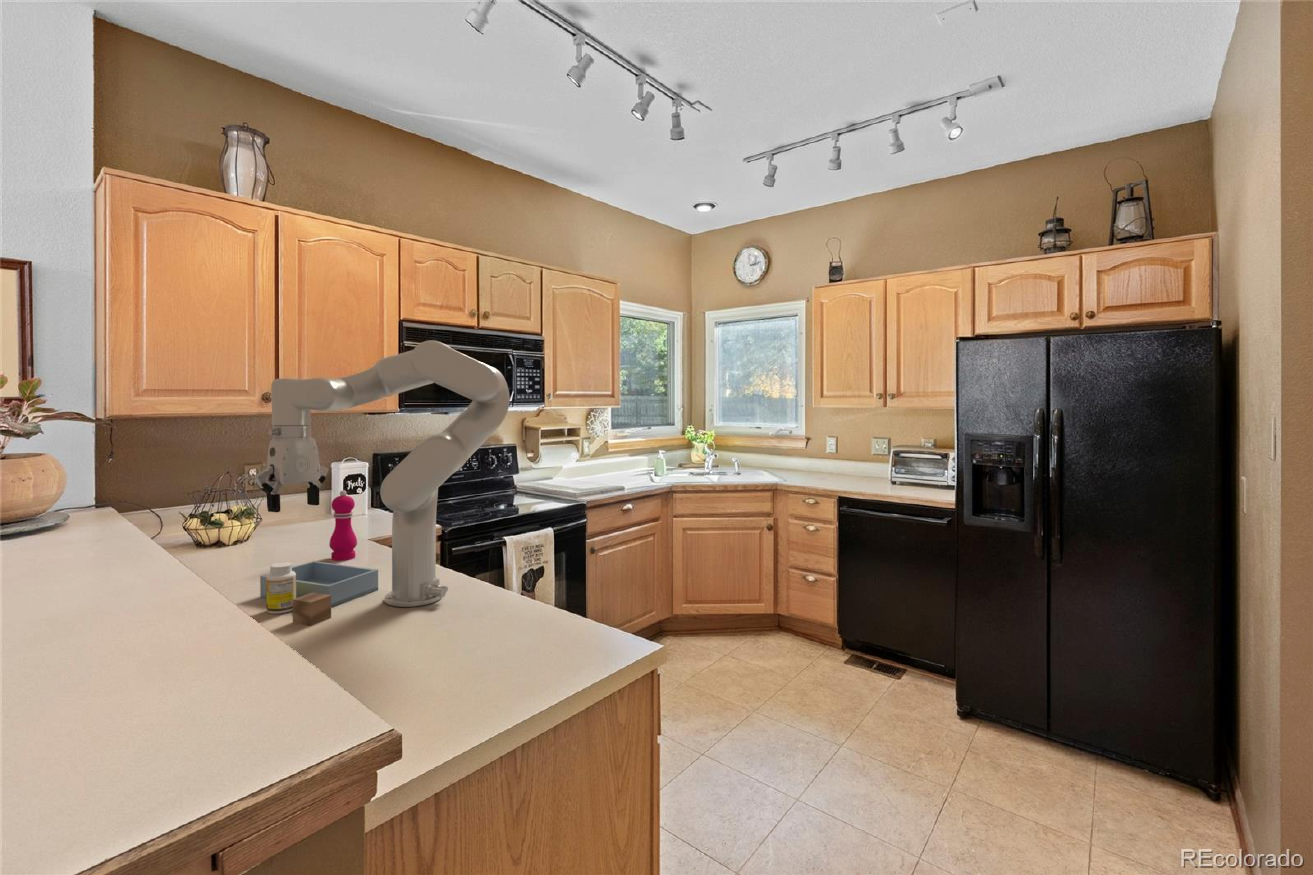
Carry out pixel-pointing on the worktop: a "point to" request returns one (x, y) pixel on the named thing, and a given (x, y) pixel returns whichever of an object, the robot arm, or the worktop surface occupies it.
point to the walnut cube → (311, 608)
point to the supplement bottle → (280, 588)
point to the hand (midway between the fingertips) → (294, 508)
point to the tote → (331, 581)
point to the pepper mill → (343, 529)
